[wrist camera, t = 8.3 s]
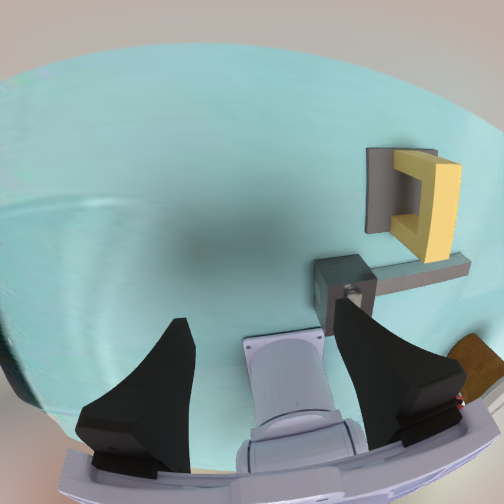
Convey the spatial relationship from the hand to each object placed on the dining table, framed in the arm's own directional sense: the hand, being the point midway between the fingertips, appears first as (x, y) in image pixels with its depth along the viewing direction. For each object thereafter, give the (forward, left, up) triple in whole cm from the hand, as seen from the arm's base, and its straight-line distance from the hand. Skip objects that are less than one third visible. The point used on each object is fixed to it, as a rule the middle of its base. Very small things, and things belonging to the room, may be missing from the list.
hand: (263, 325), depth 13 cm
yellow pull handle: (+3, -13, -10) cm, 16 cm away
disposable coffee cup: (-22, -30, -10) cm, 38 cm away
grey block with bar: (-5, -14, -10) cm, 18 cm away
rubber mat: (+3, -13, -10) cm, 17 cm away
